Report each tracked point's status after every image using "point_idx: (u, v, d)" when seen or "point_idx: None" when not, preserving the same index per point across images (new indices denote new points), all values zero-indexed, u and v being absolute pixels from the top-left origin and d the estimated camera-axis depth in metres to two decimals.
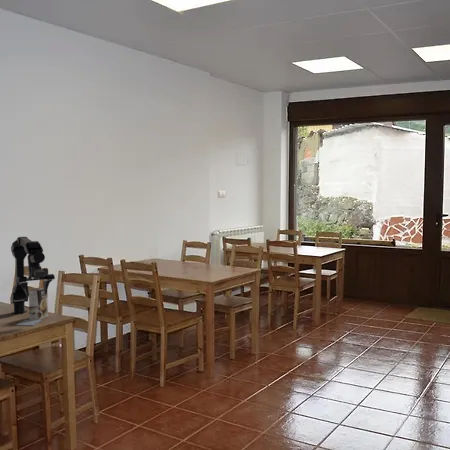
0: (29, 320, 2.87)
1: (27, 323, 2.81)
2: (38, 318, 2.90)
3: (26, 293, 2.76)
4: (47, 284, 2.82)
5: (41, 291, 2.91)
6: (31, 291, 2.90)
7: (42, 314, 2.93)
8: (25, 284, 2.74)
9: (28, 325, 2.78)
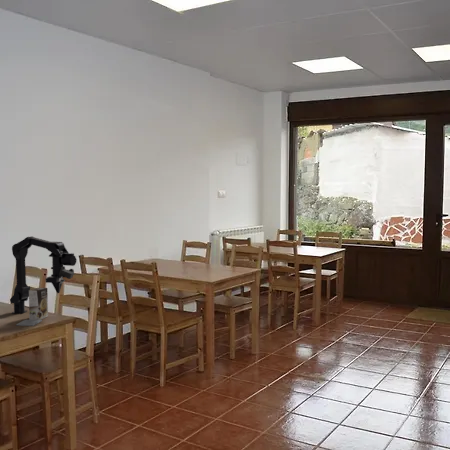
0: (29, 320, 2.87)
1: (27, 323, 2.81)
2: (38, 318, 2.90)
3: (57, 290, 2.98)
4: (61, 283, 2.99)
5: (41, 291, 2.91)
6: (31, 291, 2.90)
7: (42, 314, 2.93)
8: (60, 282, 2.96)
9: (28, 325, 2.78)
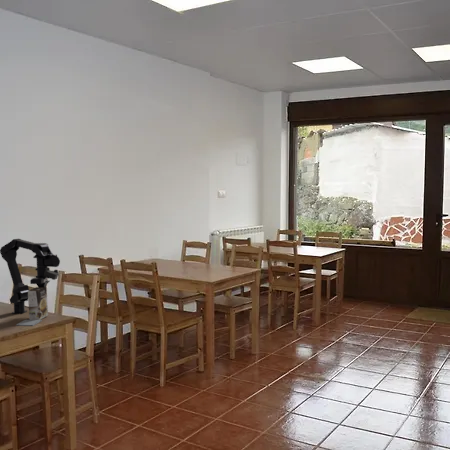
0: (29, 320, 2.87)
1: (27, 323, 2.81)
2: (38, 318, 2.90)
3: None
4: (46, 284, 3.01)
5: (40, 291, 2.90)
6: (30, 291, 2.89)
7: (42, 314, 2.93)
8: (45, 283, 2.98)
9: (28, 325, 2.78)
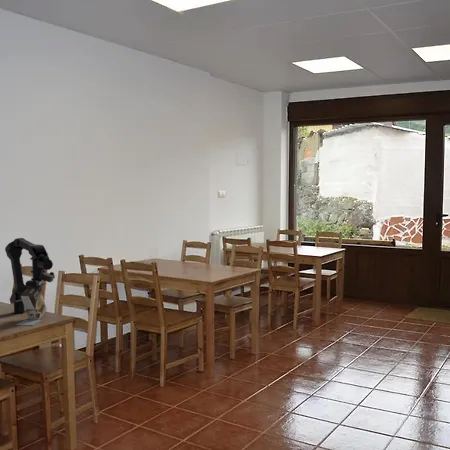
0: (29, 320, 2.87)
1: (27, 323, 2.81)
2: (37, 318, 2.89)
3: None
4: (41, 287, 2.95)
5: (33, 294, 2.84)
6: (23, 296, 2.83)
7: (41, 313, 2.91)
8: (40, 286, 2.92)
9: (28, 325, 2.78)
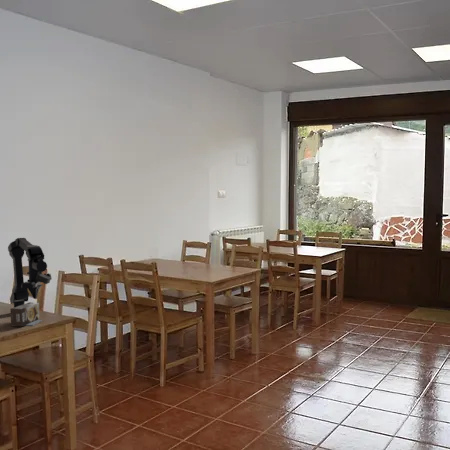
0: None
1: None
2: (37, 319, 2.89)
3: (34, 296, 2.89)
4: (38, 289, 2.91)
5: (22, 321, 2.75)
6: (14, 325, 2.76)
7: (36, 314, 2.87)
8: (37, 288, 2.88)
9: (28, 325, 2.78)
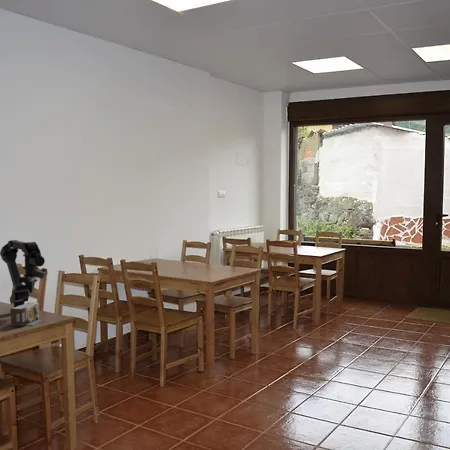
0: None
1: None
2: (37, 319, 2.89)
3: (30, 290, 2.98)
4: (34, 283, 2.99)
5: (22, 321, 2.75)
6: (14, 325, 2.76)
7: (36, 314, 2.87)
8: (33, 282, 2.96)
9: (28, 325, 2.78)
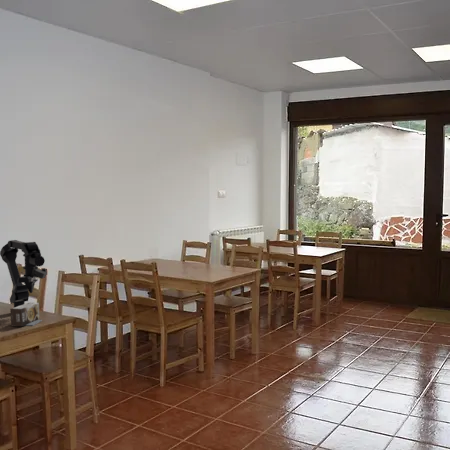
0: None
1: None
2: (37, 319, 2.89)
3: (30, 290, 2.98)
4: (34, 283, 2.99)
5: (22, 321, 2.75)
6: (14, 325, 2.76)
7: (36, 314, 2.87)
8: (33, 282, 2.96)
9: (28, 325, 2.78)
